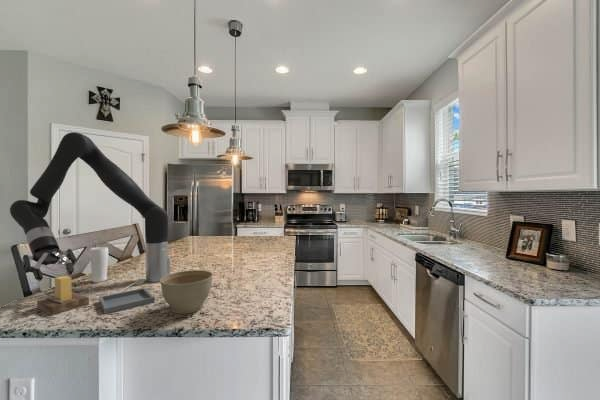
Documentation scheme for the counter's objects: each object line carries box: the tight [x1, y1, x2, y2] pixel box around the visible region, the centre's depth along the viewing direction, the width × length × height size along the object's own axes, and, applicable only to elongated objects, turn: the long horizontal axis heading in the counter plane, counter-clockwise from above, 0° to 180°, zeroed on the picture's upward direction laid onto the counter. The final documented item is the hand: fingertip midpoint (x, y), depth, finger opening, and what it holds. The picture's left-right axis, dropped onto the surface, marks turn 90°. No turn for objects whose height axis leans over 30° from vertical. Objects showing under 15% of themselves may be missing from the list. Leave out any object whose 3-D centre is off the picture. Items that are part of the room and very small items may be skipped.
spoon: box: [114, 278, 146, 294], centre depth 113 cm, size 4×21×2 cm, turn 175°
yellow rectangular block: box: [54, 275, 73, 302], centre depth 95 cm, size 3×4×10 cm, turn 62°
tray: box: [98, 287, 156, 315], centre depth 98 cm, size 15×15×2 cm
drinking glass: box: [89, 246, 109, 283], centre depth 125 cm, size 7×7×15 cm
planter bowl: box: [159, 269, 213, 315], centre depth 92 cm, size 16×16×11 cm
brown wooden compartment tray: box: [36, 291, 90, 316], centre depth 95 cm, size 10×12×3 cm
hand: (56, 276), depth 97 cm, fingers open, 8 cm apart
